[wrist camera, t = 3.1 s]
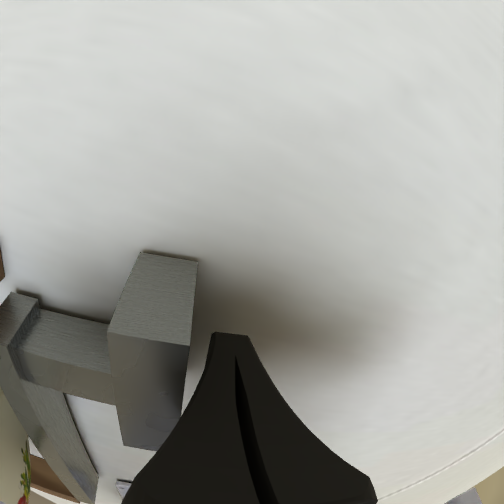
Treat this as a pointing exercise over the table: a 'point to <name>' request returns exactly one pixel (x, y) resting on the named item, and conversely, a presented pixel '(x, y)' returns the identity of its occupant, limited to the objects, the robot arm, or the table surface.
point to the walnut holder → (44, 464)
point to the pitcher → (13, 457)
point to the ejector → (101, 366)
